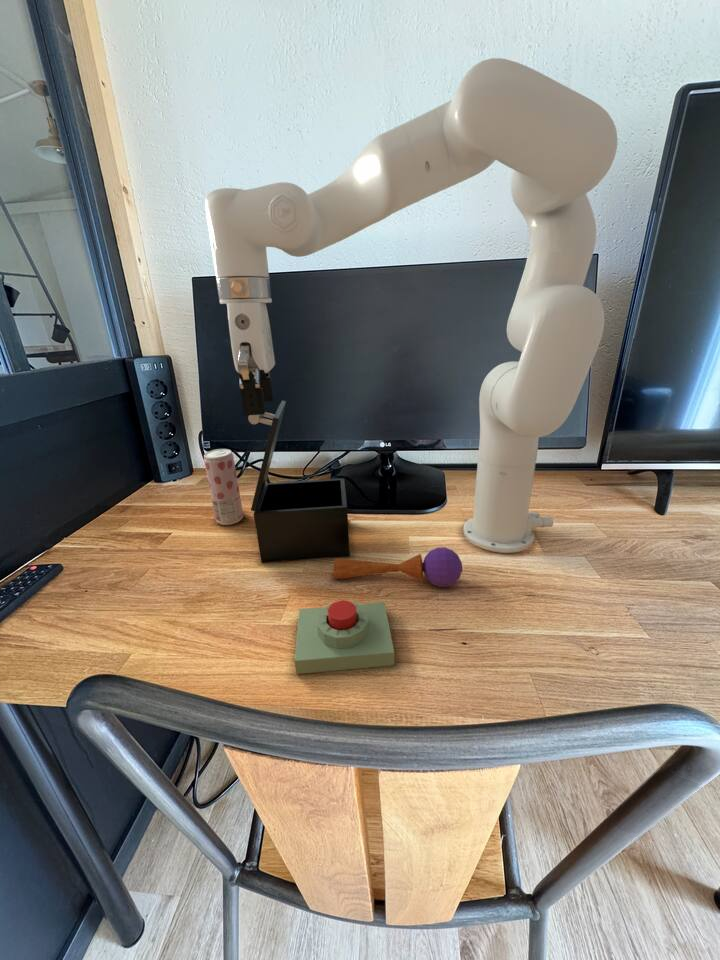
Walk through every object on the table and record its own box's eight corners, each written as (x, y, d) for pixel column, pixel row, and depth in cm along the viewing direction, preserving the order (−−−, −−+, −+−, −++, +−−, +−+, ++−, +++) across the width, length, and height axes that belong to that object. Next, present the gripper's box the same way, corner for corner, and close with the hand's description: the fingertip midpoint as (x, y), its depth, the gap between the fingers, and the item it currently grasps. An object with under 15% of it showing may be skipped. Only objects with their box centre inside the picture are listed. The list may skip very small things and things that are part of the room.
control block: (384, 614, 57) (384, 591, 56) (394, 665, 49) (394, 640, 47) (300, 621, 56) (297, 598, 55) (296, 674, 48) (292, 649, 47)
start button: (355, 609, 53) (355, 599, 52) (357, 629, 50) (357, 618, 49) (328, 611, 53) (327, 601, 52) (328, 632, 49) (327, 621, 49)
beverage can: (247, 513, 88) (237, 448, 82) (237, 526, 82) (225, 458, 76) (223, 512, 88) (210, 448, 82) (211, 525, 83) (197, 457, 77)
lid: (286, 401, 72) (259, 393, 71) (278, 418, 60) (246, 409, 59) (266, 481, 78) (241, 475, 77) (255, 511, 66) (226, 504, 65)
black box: (346, 521, 82) (344, 478, 79) (349, 556, 71) (347, 507, 67) (270, 527, 82) (264, 483, 78) (261, 563, 70) (253, 513, 66)
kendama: (337, 544, 67) (459, 541, 64) (341, 577, 68) (460, 575, 65) (329, 558, 61) (463, 556, 58) (333, 594, 63) (464, 593, 59)
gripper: (261, 289, 51) (276, 419, 58) (277, 294, 67) (287, 396, 74) (202, 290, 51) (224, 422, 57) (231, 295, 67) (246, 397, 73)
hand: (259, 407), depth 66 cm, fingers open, 9 cm apart
